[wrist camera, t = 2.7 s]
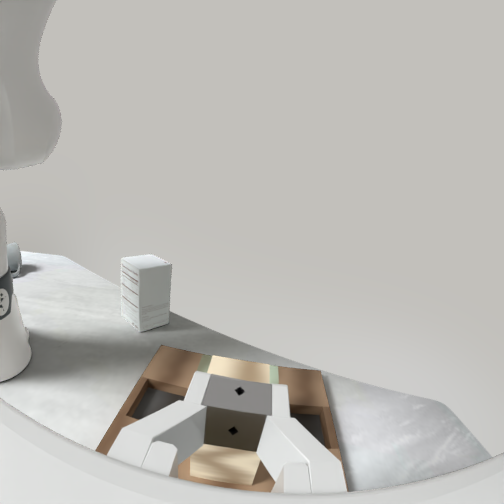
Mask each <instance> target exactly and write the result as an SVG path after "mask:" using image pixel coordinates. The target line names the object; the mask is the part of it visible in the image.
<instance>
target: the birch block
mask: <svg viewBox="0 0 504 504" xmlns="http://www.w3.org/2000/svg"><path fill="white" fill-rule="evenodd" d="M207 373H210V374H215V375H220V376H225V377H230V378H235V379H241V380H246V381H253V382H261V383H269V384H270V364H264V363H257V362H250V361H243V360H237V359H231V358H226V357H220V356H215V355H213V356H212V359H211V362H210V365H209V368H208V371H207ZM259 463H260V458H259V457H258V455H257V453H256V452H253V451H246V450H240V449H234V448H227V447H220V446H214V445H208V444H203V446H202V447H200V448H199V449H198V450H197V451H196V452H194V453H193V454H192V455H191V456H190V476H194V477H198V478H203V479H209V480H214V481H220V482H227V483H233V484H241V485H250V486H252V483H253V480H254V477H255V474H256V471H257V469H258V466H259Z"/></svg>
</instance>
